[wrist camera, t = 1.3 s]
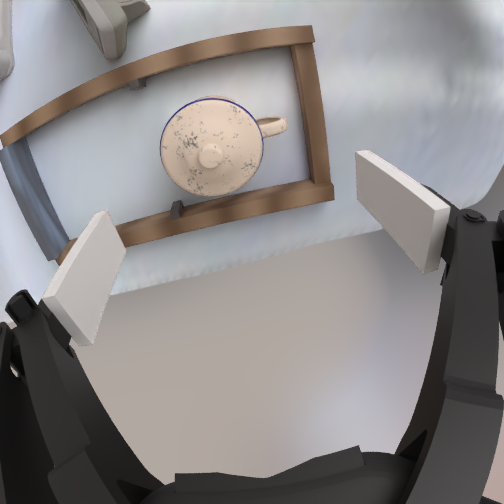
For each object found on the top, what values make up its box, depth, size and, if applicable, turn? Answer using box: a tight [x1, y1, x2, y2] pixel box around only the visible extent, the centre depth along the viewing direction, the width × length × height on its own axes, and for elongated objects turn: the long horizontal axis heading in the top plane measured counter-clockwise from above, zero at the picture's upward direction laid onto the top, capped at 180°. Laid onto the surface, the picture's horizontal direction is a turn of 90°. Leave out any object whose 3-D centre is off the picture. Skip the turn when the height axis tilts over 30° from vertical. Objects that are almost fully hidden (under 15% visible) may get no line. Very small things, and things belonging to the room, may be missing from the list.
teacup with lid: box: [160, 96, 288, 196], centre depth 26 cm, size 12×9×12 cm
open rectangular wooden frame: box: [0, 25, 335, 266], centre depth 29 cm, size 39×21×4 cm, turn 101°
